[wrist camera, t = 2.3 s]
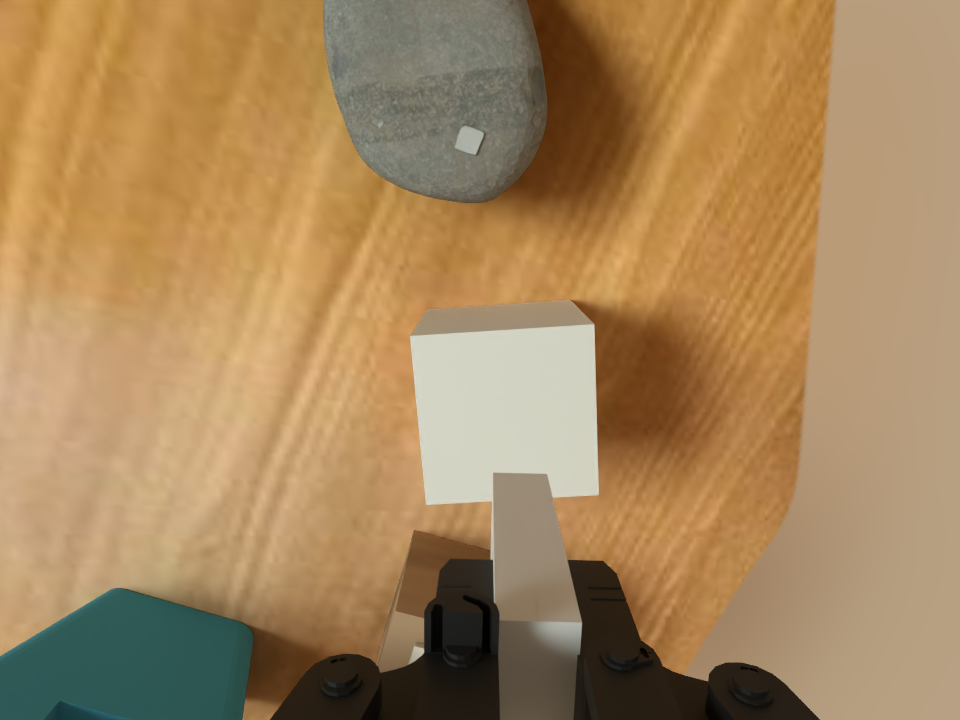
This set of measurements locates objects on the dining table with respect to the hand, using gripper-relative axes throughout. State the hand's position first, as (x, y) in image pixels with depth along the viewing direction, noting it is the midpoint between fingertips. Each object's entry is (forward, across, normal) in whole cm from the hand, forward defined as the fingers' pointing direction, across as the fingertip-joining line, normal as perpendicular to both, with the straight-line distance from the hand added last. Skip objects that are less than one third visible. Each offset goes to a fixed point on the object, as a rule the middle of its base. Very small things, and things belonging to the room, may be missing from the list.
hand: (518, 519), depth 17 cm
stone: (+14, -3, +15) cm, 21 cm away
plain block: (+14, 0, +1) cm, 14 cm away
